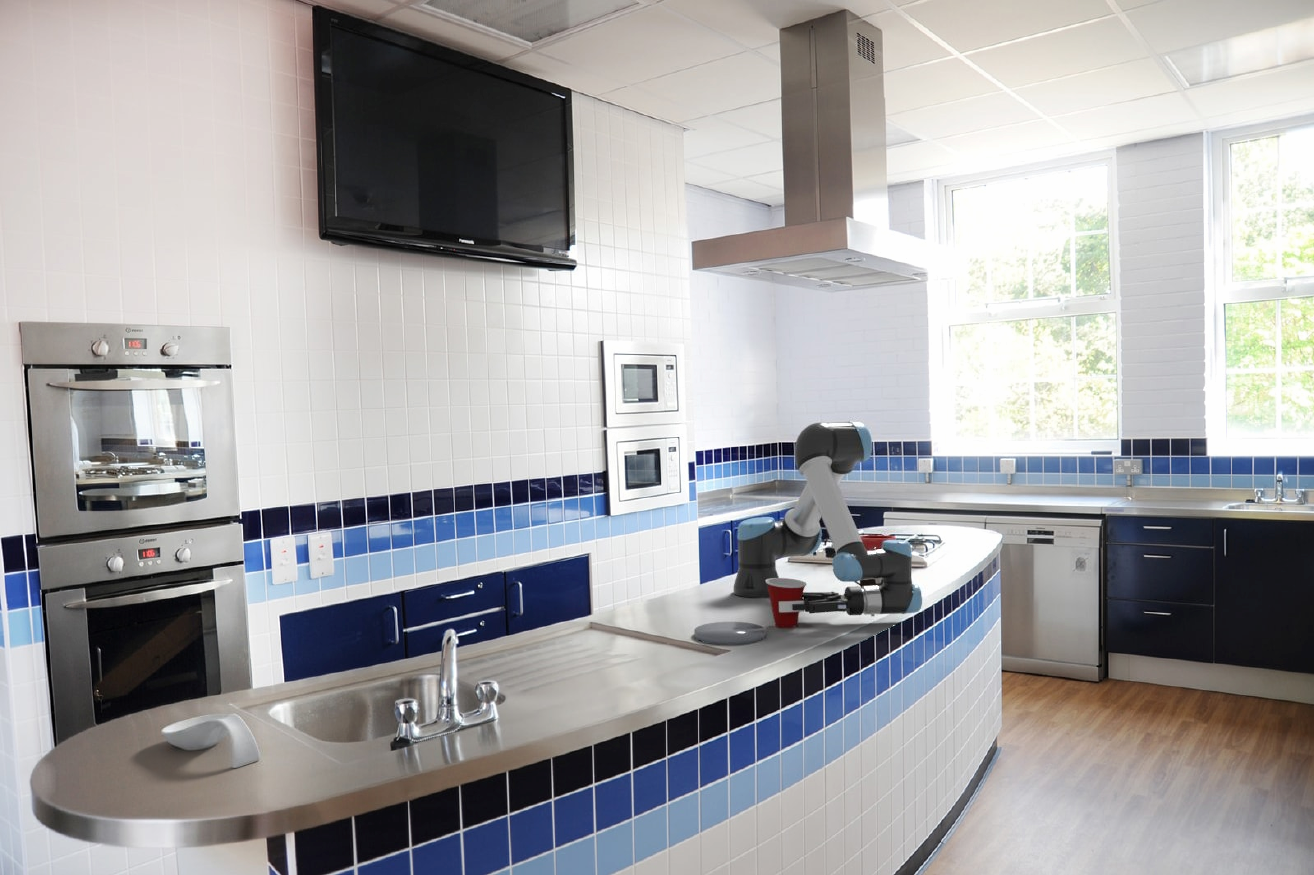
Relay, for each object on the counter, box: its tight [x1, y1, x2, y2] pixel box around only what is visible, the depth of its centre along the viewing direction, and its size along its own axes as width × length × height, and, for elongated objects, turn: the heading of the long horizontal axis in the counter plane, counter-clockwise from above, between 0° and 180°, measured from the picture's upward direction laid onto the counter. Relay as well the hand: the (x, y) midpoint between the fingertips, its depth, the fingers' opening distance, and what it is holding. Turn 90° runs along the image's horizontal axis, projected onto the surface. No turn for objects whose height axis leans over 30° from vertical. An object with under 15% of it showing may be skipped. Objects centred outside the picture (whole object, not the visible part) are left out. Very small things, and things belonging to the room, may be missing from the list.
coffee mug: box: [854, 578, 883, 588], centre depth 276 cm, size 12×9×10 cm
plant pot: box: [860, 534, 897, 551], centre depth 317 cm, size 13×13×12 cm
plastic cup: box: [766, 577, 807, 629], centre depth 237 cm, size 11×11×12 cm
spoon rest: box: [160, 713, 261, 769], centre depth 157 cm, size 24×12×7 cm, turn 52°
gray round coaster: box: [693, 621, 766, 645], centre depth 228 cm, size 18×18×2 cm
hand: (776, 603), depth 237 cm, fingers closed on plastic cup, 8 cm apart
